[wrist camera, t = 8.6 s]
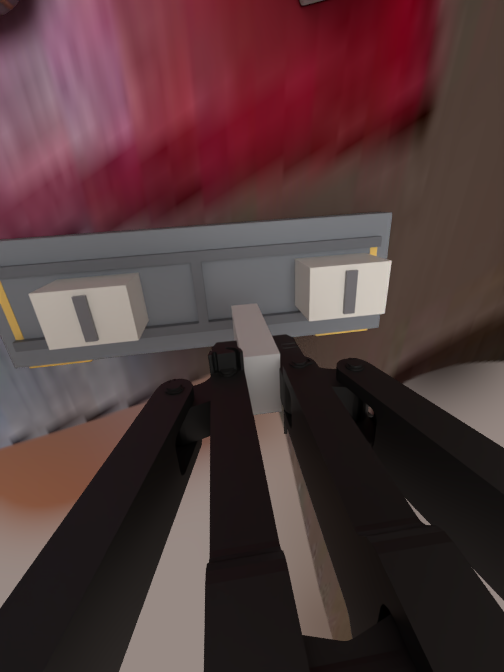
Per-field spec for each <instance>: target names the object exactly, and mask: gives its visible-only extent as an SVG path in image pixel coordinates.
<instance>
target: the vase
mask: <svg viewBox="0 0 504 672" xmlns="http://www.w3.org/2000/svg"><path fill="white" fill-rule="evenodd" d="M18 1H19V0H0V16H2V15H4V14H6V13H8V12H9V11H11V10H12V9H13V8H14V7H15V6H16V4H17V3H18Z"/></svg>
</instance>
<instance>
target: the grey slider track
mask: <svg viewBox="0 0 504 672" xmlns="http://www.w3.org/2000/svg"><path fill="white" fill-rule="evenodd" d="M391 220H392V212H372V213H358V214H344V215H331V216H317V217H303V218H289V219H276V220H262V221H248V222H235V223H221V224H207V225H194V226H180V227H166V228H152V229H139V230H125V231H111V232H98V233H84V234H70V235H57V236H43V237H29V238H15V239H2V240H0V336H1V338H2V340H3V342H4V345H5V347H6V349H7V351H8V354H9V356H10V358H11V360H12V363H13V365H14V367H15V368H23V367H30V368H38V367H47V366H55V365H64V364H73V363H82V362H91V361H92V360H94V359H103V358H112V357H121V356H129V355H138V354H147V353H156V352H165V351H174V350H183V349H191V348H200V347H209V346H214V345H215V344H216V342H225V341H234V330H233V319H232V308H231V306H234V305H245V304H255V303H257V305H258V307H259V309H260V311H261V313H262V316H263V318H264V320H265V322H266V324H267V326H268V329H269V331H270V333H271V335H272V336H274V335H284V334H287V335H289V336H291V337H298V336H307V335H315V336H320V335H329V334H338V333H346V332H355V331H364V330H367V329H369V328H377V327H379V319H380V314H375V315H366V316H356V317H347V318H337V319H328V320H318V321H308V320H307V318H306V317H305V316H304V315H303V314H302V313H301V312H300V310H299V309H298V308H297V307H296V306H295V258H307V257H319V256H331V255H343V254H355V253H368V254H371V255H374V256H377V257H381V258H384V259H387V253H388V245H389V237H390V228H391ZM127 273H139V278H140V282H141V287H142V291H143V296H144V301H145V305H146V310H147V315H148V319H149V321H148V323H147V325H146V327H145V329H144V331H143V333H142V335H141V337H140V339H139V340H137V341H128V342H119V343H109V344H100V345H91V346H82V347H72V348H63V349H54V350H49V347H48V345H47V342H46V339H45V337H44V334H43V331H42V329H41V326H40V323H39V321H38V318H37V315H36V313H35V310H34V307H33V305H32V302H31V300H30V297H29V293H31V292H33V291H35V290H37V289H39V288H41V287H43V286H45V285H47V284H49V283H51V282H53V281H55V280H58V279H69V278H81V277H92V276H104V275H115V274H127Z"/></svg>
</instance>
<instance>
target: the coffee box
mask: <svg viewBox="0 0 504 672" xmlns="http://www.w3.org/2000/svg"><path fill="white" fill-rule="evenodd" d="M319 1H323V0H300V4H301V5H307V4H311V3H315V2H319Z"/></svg>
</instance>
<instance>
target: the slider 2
mask: <svg viewBox="0 0 504 672" xmlns="http://www.w3.org/2000/svg"><path fill="white" fill-rule="evenodd" d="M390 269H391V261H390V260H387V259H384V258H381V257H377V256H374V255H371V254H368V253H355V254H343V255H331V256H319V257H307V258H295V306H296V307H297V308H298V309H299V310H300V312H301V313H302V314H303V315H304V316H305V317H306V318H307V320H308V321H318V320H328V319H337V318H347V317H356V316H366V315H375V314H385V307H386V299H387V292H388V284H389V277H390Z"/></svg>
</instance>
